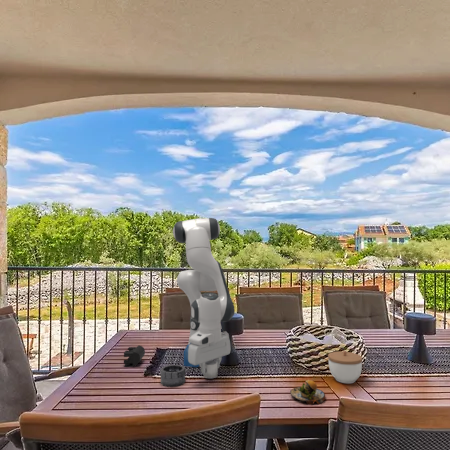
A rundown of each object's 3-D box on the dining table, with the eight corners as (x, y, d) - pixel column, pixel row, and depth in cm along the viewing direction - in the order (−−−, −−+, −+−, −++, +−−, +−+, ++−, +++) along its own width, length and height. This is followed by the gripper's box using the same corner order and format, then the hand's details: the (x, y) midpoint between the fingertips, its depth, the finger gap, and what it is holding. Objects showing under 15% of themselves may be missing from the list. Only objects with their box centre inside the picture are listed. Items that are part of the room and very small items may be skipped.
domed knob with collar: (174, 375, 149) (174, 363, 149) (189, 381, 142) (189, 368, 143) (155, 382, 142) (155, 368, 142) (170, 388, 136) (170, 374, 136)
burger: (292, 389, 135) (291, 368, 135) (325, 393, 132) (325, 372, 132) (288, 403, 123) (287, 380, 124) (324, 407, 120) (324, 384, 120)
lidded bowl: (325, 374, 150) (324, 346, 150) (356, 374, 149) (356, 346, 150) (333, 386, 137) (332, 356, 138) (367, 386, 137) (366, 356, 137)
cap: (210, 372, 150) (210, 359, 150) (220, 375, 146) (220, 362, 146) (200, 375, 146) (200, 362, 146) (210, 379, 142) (210, 365, 142)
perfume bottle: (183, 365, 161) (183, 337, 162) (189, 361, 167) (189, 334, 167) (196, 367, 159) (196, 339, 160) (202, 363, 165) (202, 335, 165)
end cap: (139, 367, 160) (139, 351, 160) (123, 367, 160) (123, 351, 160) (145, 360, 170) (145, 345, 170) (129, 360, 170) (129, 345, 170)
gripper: (222, 329, 156) (223, 362, 156) (185, 338, 141) (185, 375, 141) (234, 331, 152) (234, 365, 151) (196, 342, 137) (196, 380, 137)
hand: (210, 370), depth 146 cm, fingers closed on cap, 5 cm apart
